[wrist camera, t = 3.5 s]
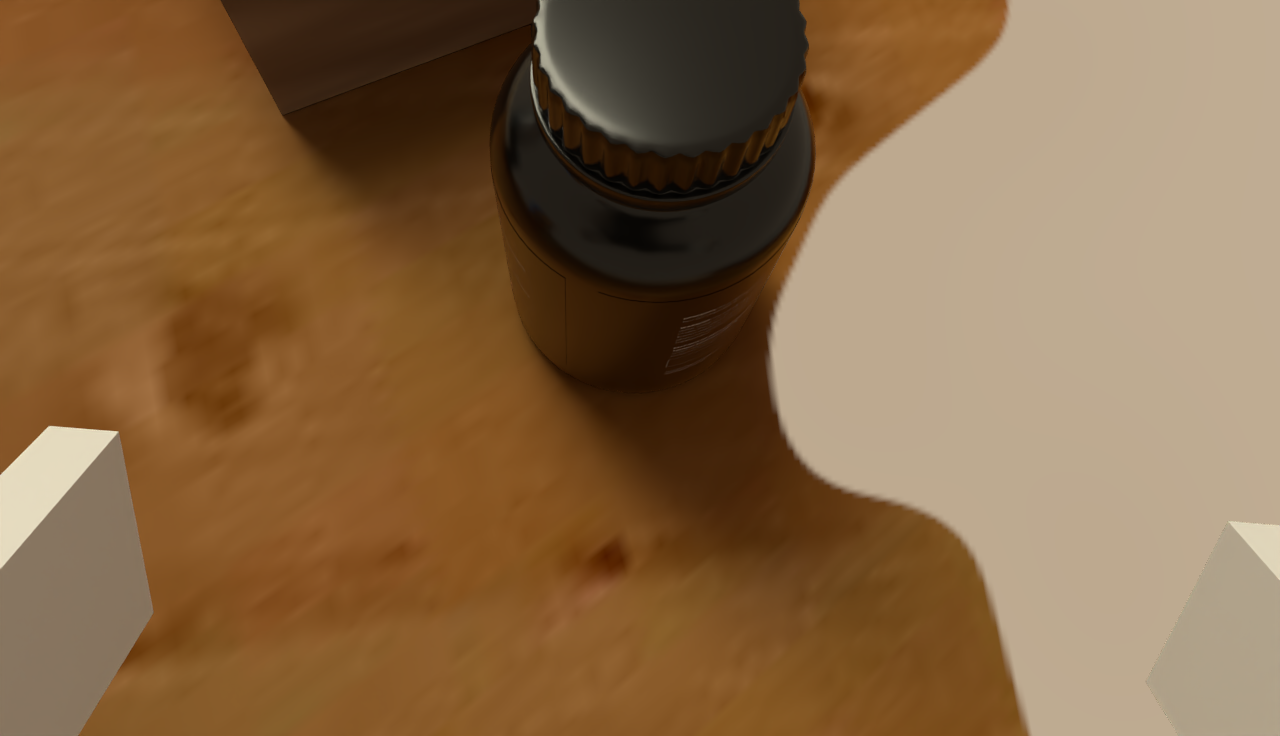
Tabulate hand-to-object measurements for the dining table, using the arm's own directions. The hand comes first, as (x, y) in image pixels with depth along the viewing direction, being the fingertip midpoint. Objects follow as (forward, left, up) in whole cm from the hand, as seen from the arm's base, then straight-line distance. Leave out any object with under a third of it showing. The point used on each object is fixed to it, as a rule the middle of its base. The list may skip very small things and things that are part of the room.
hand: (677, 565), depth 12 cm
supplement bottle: (-8, +4, -14) cm, 17 cm away
